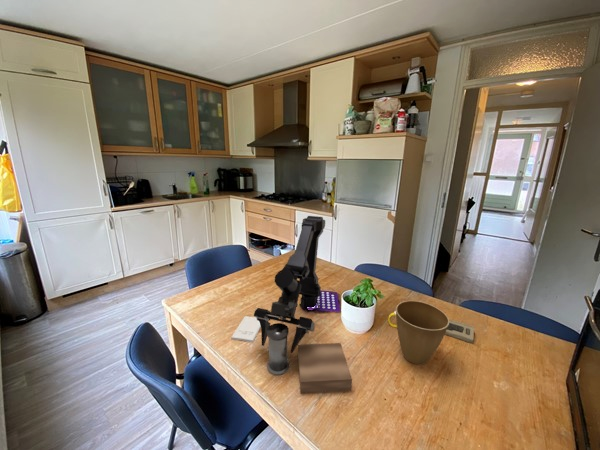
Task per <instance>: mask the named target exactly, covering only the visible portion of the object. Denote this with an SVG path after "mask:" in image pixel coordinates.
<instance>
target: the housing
mask: <svg viewBox="0 0 600 450" xmlns="http://www.w3.org/2000/svg"><path fill="white" fill-rule="evenodd" d="M289 333H290V331H289V327H288V326H287V324H286V323H283V322H277V323H273V324H270V326H269V327H268V329H267V338H268V362H267V366H266V367H267V371H268V372H269V373H270V374H271V375H273V376H282V375H284V374H286V373H287V372H288V371H289V369H290V360H289V359H288V336H289Z"/></svg>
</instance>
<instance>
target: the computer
mask: <svg viewBox="0 0 600 450" xmlns="http://www.w3.org/2000/svg"><path fill="white" fill-rule="evenodd" d="M448 319H449V325H448V328H447V330H446V332H445V335H446V336H449V337H451V338H454V339H457V340H460V341H463V342H465V343H466V342H467V343H469V344H474V337H475V335H474V334H475V333H474V331H475V326H473V325H471V324H466V323H463V322H460V321H457V320H453V319H451V318H448ZM445 335H444V336H445Z"/></svg>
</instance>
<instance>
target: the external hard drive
mask: <svg viewBox="0 0 600 450" xmlns="http://www.w3.org/2000/svg"><path fill="white" fill-rule="evenodd" d="M260 331H261V325H260V322H259V321H258V320H257V318H256V317H254V316H248V315H245V316H244V317H243V318H242V320H241V321H240V323H239V325H238V326H237V328H236V329H235V331H234V332H233V334H232V335H231V337H230V340H231V341H232V340H234V341H243V342H247V343H252V344H253V343H254V341H256V338H257V336H258V334H259V332H260Z"/></svg>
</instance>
